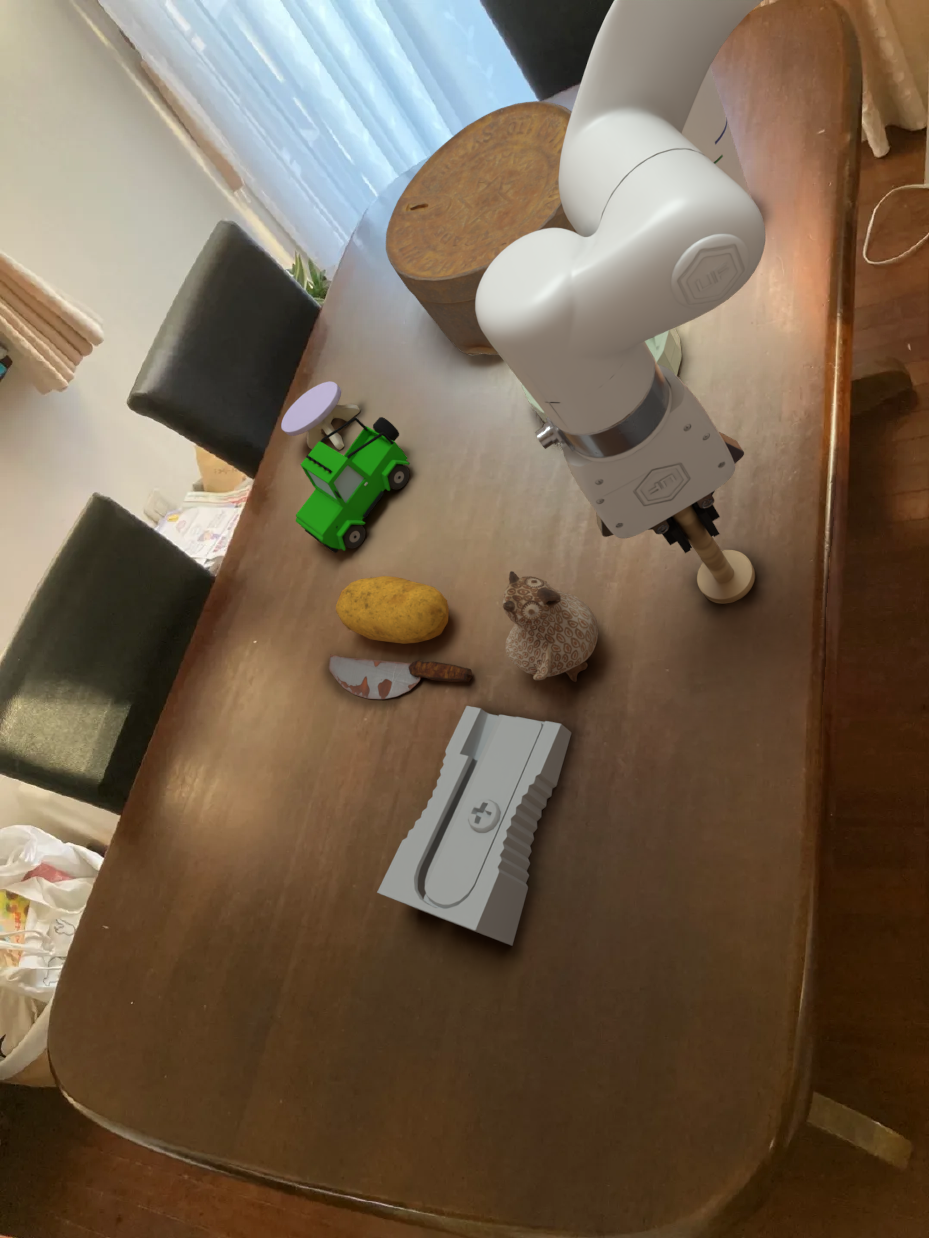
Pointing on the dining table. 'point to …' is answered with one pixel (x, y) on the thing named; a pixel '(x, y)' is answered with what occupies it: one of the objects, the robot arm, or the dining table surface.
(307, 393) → the toy table
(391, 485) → the toy car
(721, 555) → the wooden peg stand
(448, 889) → the wedge sharpener
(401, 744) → the dining table surface
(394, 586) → the potato
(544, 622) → the figurine
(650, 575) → the dining table surface
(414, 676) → the kitchen knife
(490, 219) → the container
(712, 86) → the cylindrical container
